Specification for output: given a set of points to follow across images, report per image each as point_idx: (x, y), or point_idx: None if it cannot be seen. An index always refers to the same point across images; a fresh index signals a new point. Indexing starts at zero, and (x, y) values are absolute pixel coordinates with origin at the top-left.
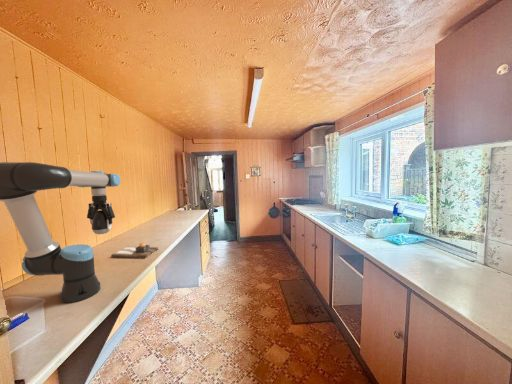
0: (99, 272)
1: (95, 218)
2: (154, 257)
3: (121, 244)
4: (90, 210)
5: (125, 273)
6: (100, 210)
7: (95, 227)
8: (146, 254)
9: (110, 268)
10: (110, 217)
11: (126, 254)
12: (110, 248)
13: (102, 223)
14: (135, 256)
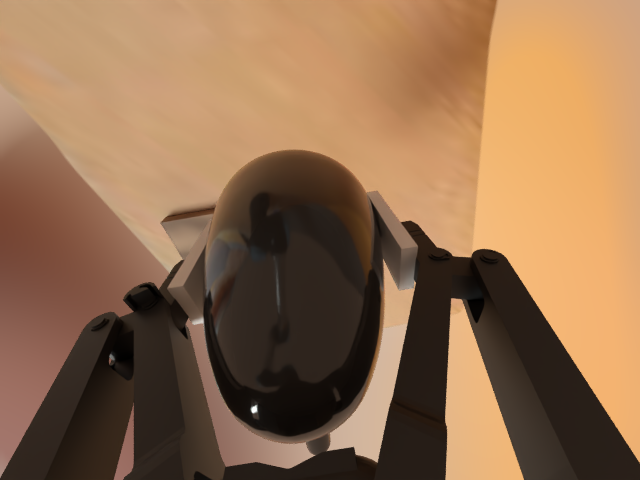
0: (202, 41)
1: (279, 234)
2: (143, 232)
3: (386, 288)
4: (526, 390)
5: (65, 63)
6: (276, 433)
7: (269, 160)
8: (170, 232)
9: (200, 97)
10: (111, 322)
11: None
12: None
13: (212, 223)
14: (205, 213)
